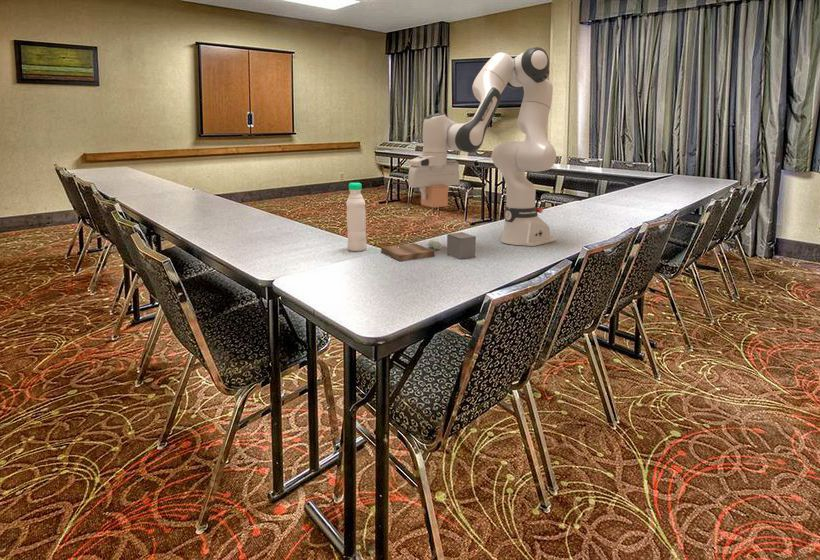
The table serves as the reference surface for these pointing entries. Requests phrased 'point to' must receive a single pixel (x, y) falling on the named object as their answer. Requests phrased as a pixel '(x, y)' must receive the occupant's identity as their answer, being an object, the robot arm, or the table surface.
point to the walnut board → (407, 251)
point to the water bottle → (356, 218)
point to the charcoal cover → (461, 245)
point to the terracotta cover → (436, 196)
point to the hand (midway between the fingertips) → (434, 198)
